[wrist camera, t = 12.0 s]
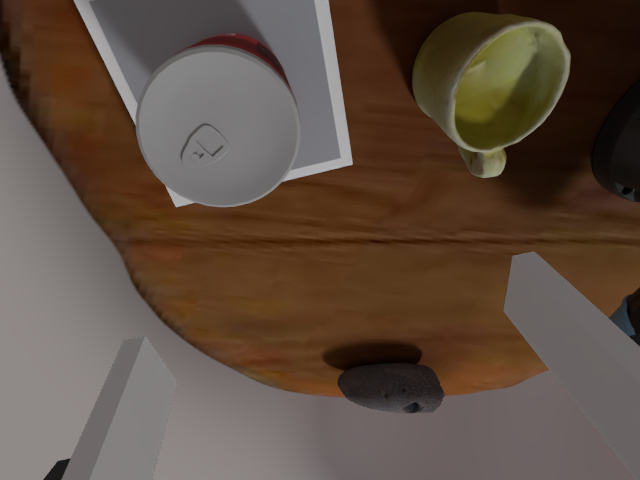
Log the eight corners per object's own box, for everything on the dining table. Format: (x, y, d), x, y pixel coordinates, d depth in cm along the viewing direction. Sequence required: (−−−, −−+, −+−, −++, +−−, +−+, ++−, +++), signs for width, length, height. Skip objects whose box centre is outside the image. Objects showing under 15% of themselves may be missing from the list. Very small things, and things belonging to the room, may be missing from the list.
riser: (310, -64, 25) (318, -75, 21) (344, 150, 34) (353, 166, 30) (90, -11, 25) (63, -15, 21) (183, 189, 34) (175, 209, 30)
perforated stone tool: (330, 377, 53) (339, 422, 48) (338, 355, 51) (348, 399, 45) (419, 377, 57) (437, 419, 51) (431, 356, 54) (451, 397, 48)
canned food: (161, 108, 26) (107, 162, 17) (212, 3, 23) (180, -2, 14) (252, 162, 29) (249, 232, 20) (308, 76, 26) (332, 113, 17)
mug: (401, -4, 26) (506, 32, 20) (501, -9, 29) (617, 20, 23) (375, 145, 34) (442, 204, 28) (455, 127, 38) (530, 176, 32)
